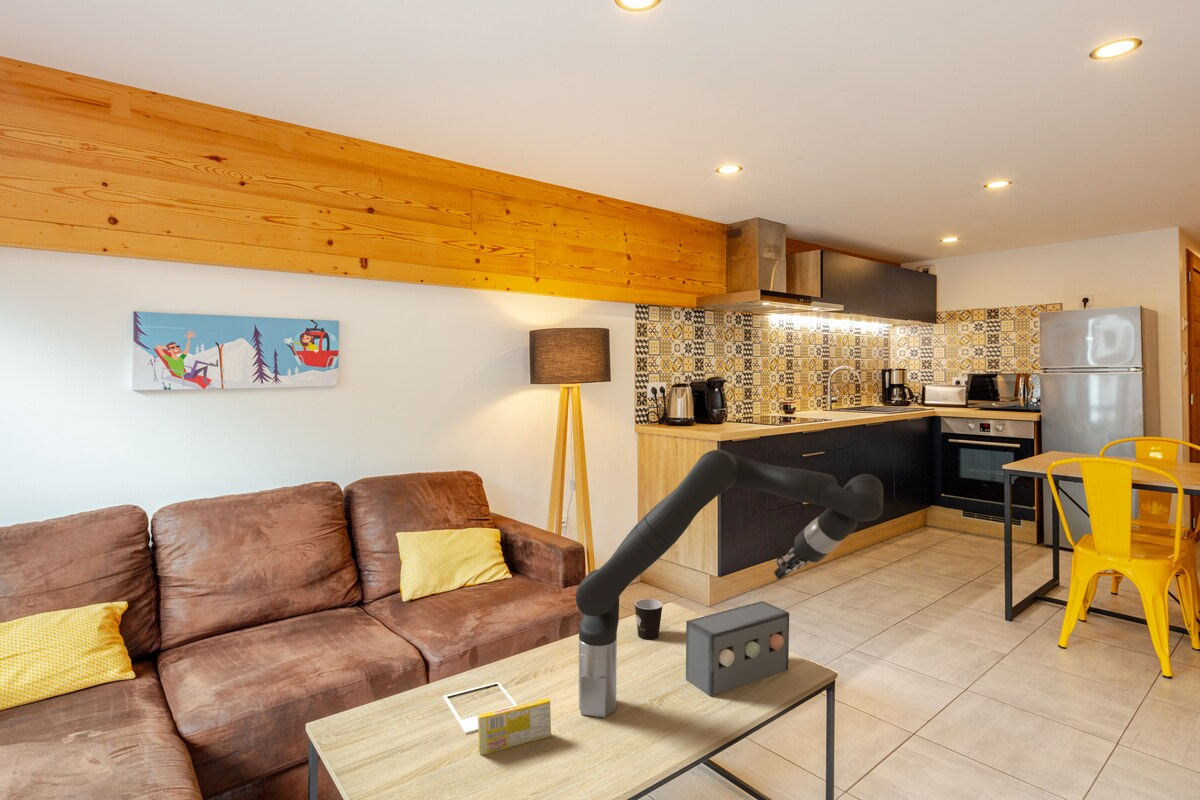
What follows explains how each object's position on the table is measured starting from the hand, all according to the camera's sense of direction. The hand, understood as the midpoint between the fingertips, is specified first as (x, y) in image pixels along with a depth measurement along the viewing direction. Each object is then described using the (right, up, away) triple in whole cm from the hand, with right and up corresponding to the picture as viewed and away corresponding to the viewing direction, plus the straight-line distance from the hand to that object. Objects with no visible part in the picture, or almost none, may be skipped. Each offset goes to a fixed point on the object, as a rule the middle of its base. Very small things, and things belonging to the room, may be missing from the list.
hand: (777, 575), depth 154 cm
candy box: (-63, -33, -16) cm, 73 cm away
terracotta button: (+2, -24, +17) cm, 30 cm away
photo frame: (-73, -32, -2) cm, 80 cm away
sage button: (-5, -24, +13) cm, 28 cm away
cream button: (-13, -24, +8) cm, 29 cm away
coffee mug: (-29, -30, +41) cm, 59 cm away
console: (-7, -31, +15) cm, 35 cm away
